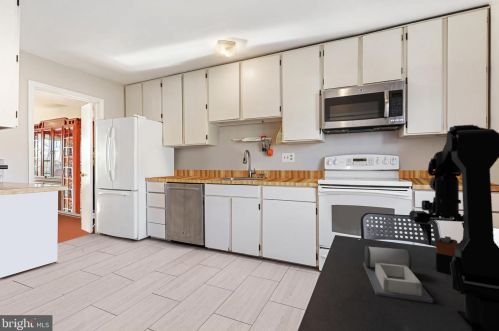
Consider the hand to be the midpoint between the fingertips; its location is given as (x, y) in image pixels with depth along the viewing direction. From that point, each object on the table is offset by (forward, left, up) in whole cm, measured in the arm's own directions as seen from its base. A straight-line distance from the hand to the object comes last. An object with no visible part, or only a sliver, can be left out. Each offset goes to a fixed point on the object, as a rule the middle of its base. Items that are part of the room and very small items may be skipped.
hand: (446, 246), depth 76 cm
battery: (0, 0, -8) cm, 8 cm away
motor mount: (-13, +18, -7) cm, 23 cm away
